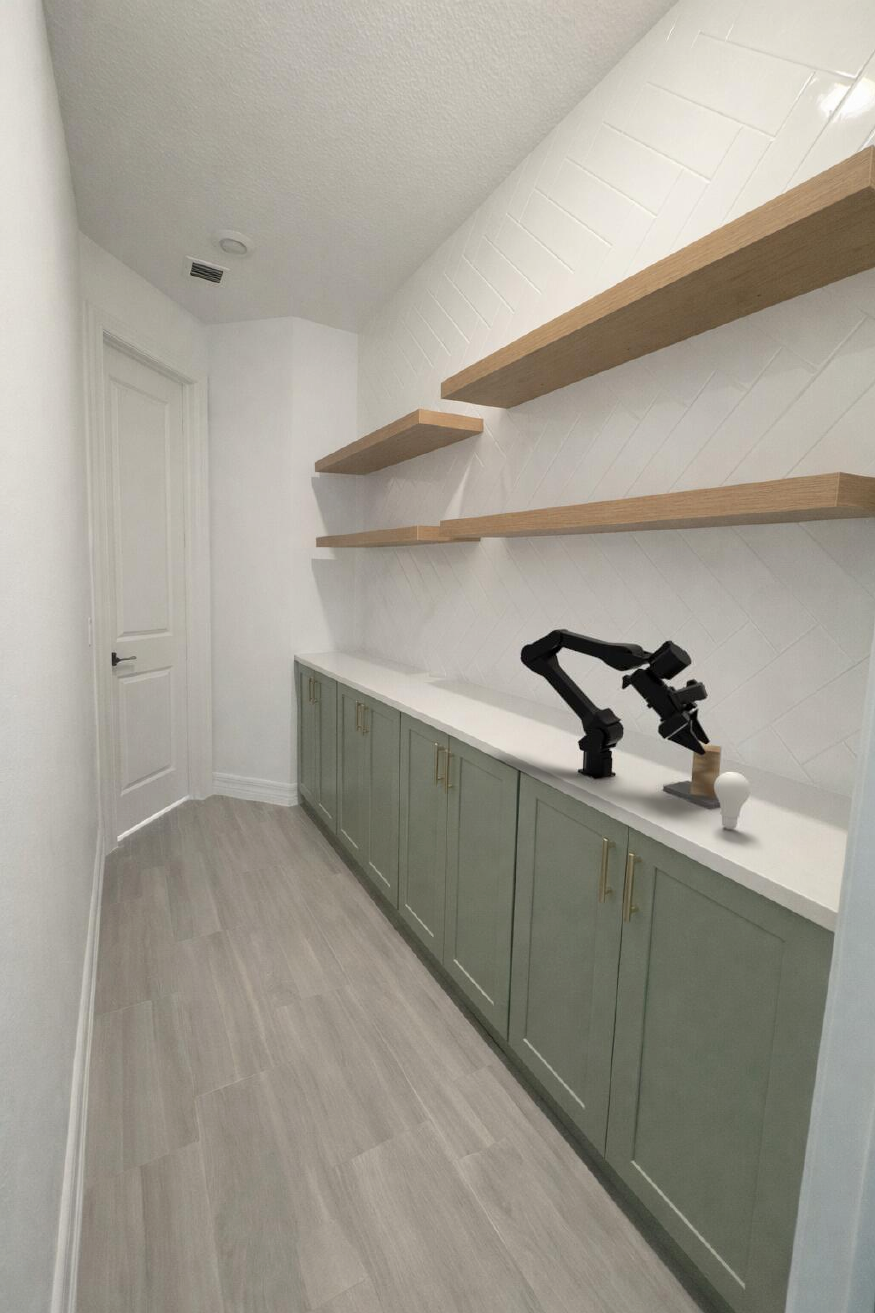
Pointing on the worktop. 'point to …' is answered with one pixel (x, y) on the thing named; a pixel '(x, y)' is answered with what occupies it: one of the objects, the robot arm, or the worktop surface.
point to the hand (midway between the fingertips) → (706, 748)
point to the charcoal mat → (684, 792)
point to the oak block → (705, 771)
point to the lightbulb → (731, 796)
